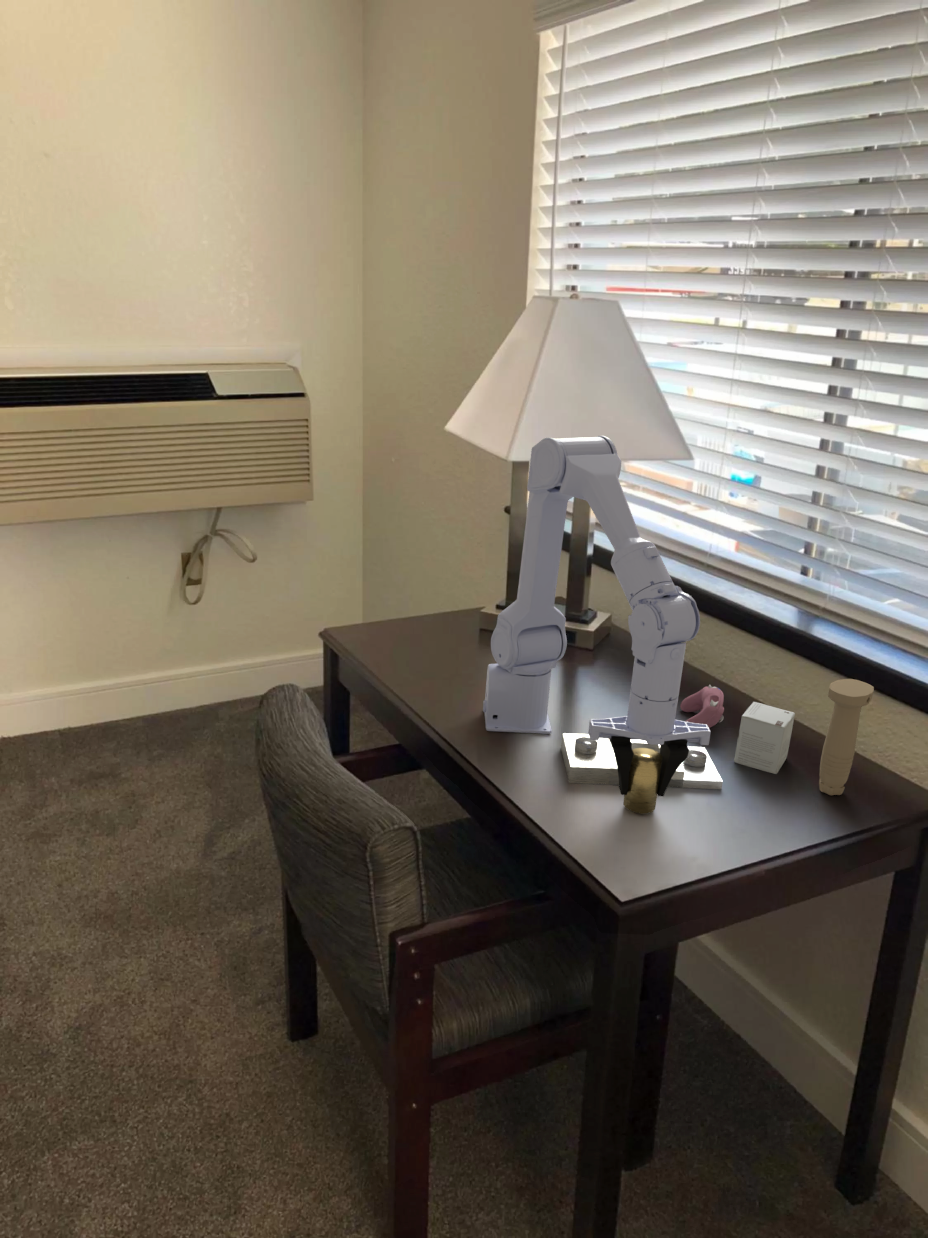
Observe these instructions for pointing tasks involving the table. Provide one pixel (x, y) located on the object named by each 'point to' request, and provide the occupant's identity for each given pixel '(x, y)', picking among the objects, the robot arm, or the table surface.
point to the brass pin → (643, 781)
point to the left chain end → (596, 758)
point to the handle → (842, 733)
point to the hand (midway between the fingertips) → (641, 791)
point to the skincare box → (764, 737)
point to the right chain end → (693, 772)
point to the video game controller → (705, 706)
